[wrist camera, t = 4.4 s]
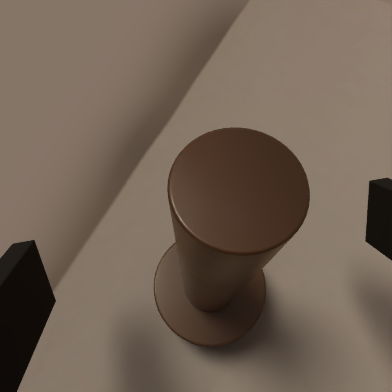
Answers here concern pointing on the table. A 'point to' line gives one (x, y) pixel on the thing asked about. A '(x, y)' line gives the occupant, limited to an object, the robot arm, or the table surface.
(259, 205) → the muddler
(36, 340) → the robot arm
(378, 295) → the table surface
